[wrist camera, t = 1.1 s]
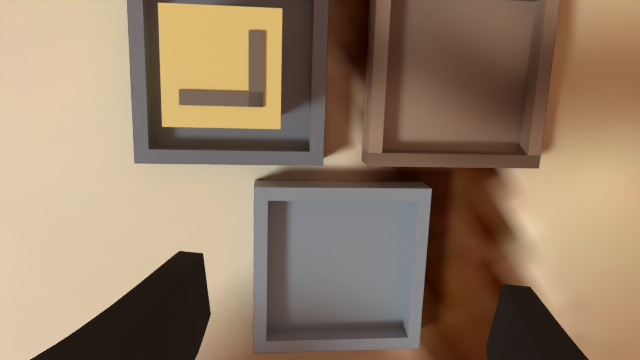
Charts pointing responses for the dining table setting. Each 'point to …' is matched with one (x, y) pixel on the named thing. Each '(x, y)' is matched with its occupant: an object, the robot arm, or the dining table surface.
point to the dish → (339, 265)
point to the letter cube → (220, 66)
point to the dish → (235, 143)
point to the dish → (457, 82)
